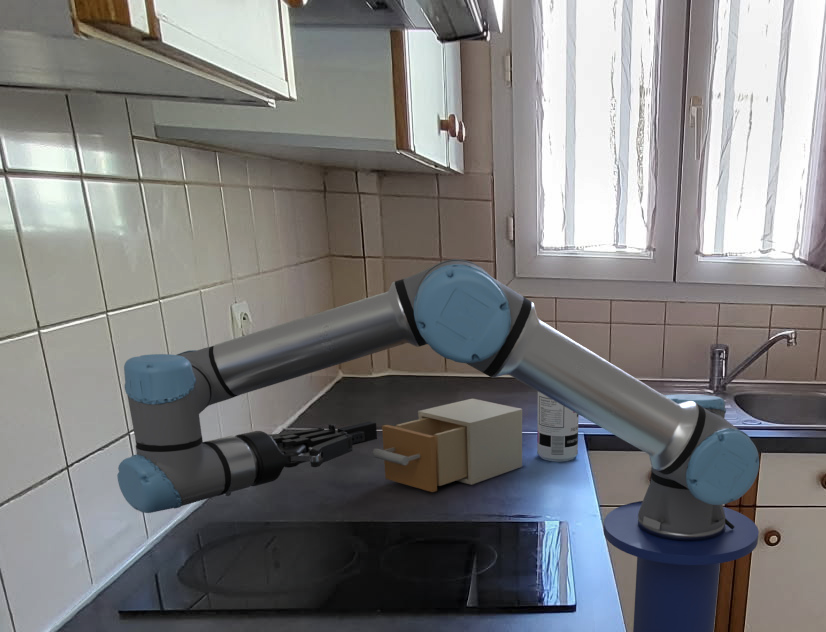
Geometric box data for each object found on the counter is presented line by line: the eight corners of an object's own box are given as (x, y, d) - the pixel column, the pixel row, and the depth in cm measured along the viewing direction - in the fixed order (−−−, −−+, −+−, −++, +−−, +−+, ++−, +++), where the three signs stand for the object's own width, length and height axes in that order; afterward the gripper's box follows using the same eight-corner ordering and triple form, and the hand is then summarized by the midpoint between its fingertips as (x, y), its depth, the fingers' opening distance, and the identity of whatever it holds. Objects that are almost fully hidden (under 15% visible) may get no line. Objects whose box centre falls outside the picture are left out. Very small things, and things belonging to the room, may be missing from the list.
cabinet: (471, 485, 150) (469, 422, 146) (420, 471, 156) (417, 411, 152) (522, 466, 162) (522, 408, 158) (473, 454, 168) (472, 398, 164)
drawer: (413, 498, 139) (410, 442, 136) (365, 484, 144) (361, 430, 141) (484, 474, 154) (483, 422, 150) (439, 462, 159) (437, 412, 155)
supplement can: (531, 452, 171) (531, 381, 166) (568, 449, 175) (569, 379, 170) (545, 464, 165) (546, 389, 159) (583, 460, 169) (585, 387, 163)
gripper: (217, 477, 121) (347, 444, 140) (275, 496, 115) (403, 459, 134) (210, 427, 118) (344, 401, 137) (269, 444, 112) (400, 414, 131)
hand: (373, 430), depth 136 cm, fingers closed
